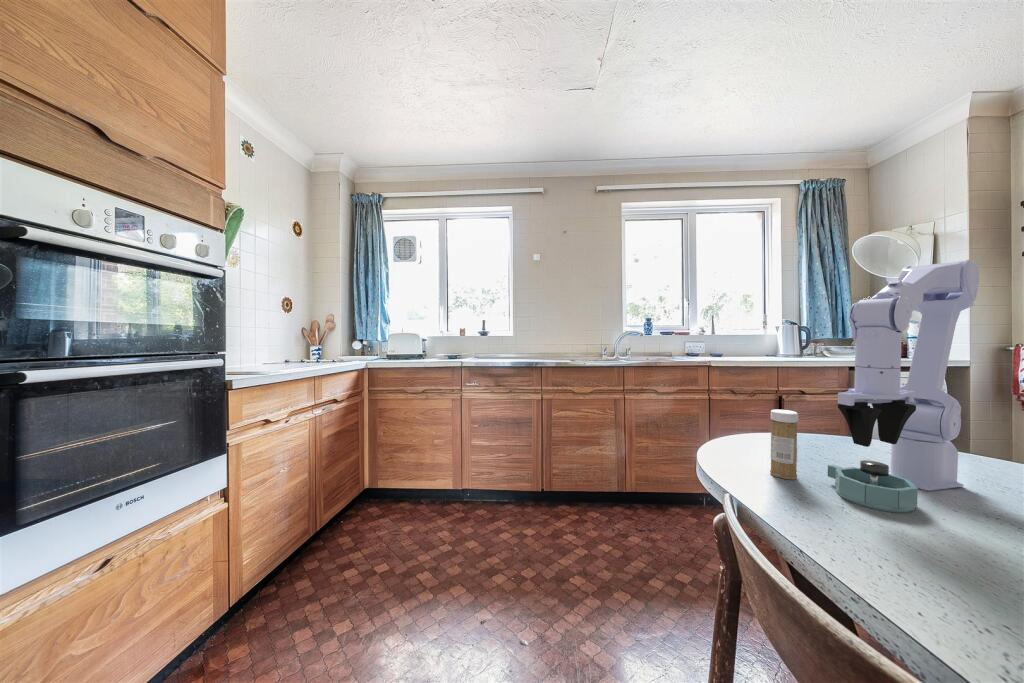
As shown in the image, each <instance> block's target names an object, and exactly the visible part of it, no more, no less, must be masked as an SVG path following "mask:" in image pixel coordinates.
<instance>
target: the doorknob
mask: <svg viewBox="0 0 1024 683" xmlns="http://www.w3.org/2000/svg"><path fill="white" fill-rule="evenodd" d="M859 464H860V466H859V468H860V470H861V471H862V472H864V473H867V474H870V483H865V482H862V483H865V484H870V485H876V486H880V485H878V476H888V475H889V470H890V469H889V468H890V466H889V465H888V464H886V463H883V462H880V461H874V460H866V459H865V460H864V459H863V460H860V463H859ZM882 487H884V486H882Z"/></svg>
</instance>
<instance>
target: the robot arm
mask: <svg viewBox="0 0 1024 683" xmlns="http://www.w3.org/2000/svg"><path fill="white" fill-rule="evenodd" d="M979 285H980V269H979V265H978V263H977V261H974V260H973V259H971V258H970V259H969V258H968V259H965V260H959V261H952V262H951V261H950V262H942V263H932V264H922V265H913V266H911V265H908V266H905V267H904V268H902V269H901V271H900V272H899V275H898V279H897V280H893V281H890V282H888V283H887V285H886V286H884V287H883V288H882V289H881V290H879V291H878V292H877V293H876V294H874V295H873V296H871V298H869V299H860V300H858V301H857V302H855V303H853V304H852V305H851V306H850V310H849V314H848V322H849V326H850V328H851V338H852V341H855V350H854V351H855V353H854V354H855V355H854V356H855V357H854V358H855V359H854V388H848V389H847V391H844V392H843V391H842V392H838V393H837V409H838V410H839V411H840V412H841V413H842V415H843V417H844V419H845V421H846V423H847V426H848V429H849V432H850V435H851V438H852V442H853V444H854V445H859V446H862V447H867V448H868V447H870V446H871V444H872V440H873V433H874V427H875V424H876V422H877V433H878V434H877V435H878V439H879V441H880V442H883V443H886V444H889V445H891V447H890V448H891V450H890V471H889V474H892V475H895V476H898V477H901V478H904V479H908V480H910V481H911V482H912V483H913V484H914V485H915V486H916V487H917V488H918V489H921V490H924V491H928V492H930V491H936V490H946V489H954V488H960V487H961V488H962V487H964V485H965V484H964V483H962V482H958V468H959V466H958V465H959V462H958V461H959V452H958V448H956V446H955V445H954V443H953V442H951V441H953V440H954V439H956V438H957V437H958V436H959V434H960V431H961V427H962V418H961V416H962V415H961V414H962V406H961V404H960V402H959V401H958V399H956V398H954V397H953V396H952V395H950V394H949V393H947V392H945V391H944V390H943V389H944V388H943V386H944V382H945V378H946V374H947V369H948V364H949V358H950V355H951V349H952V344H953V339H954V336H955V330H956V326H957V322H958V319H959V317H960V314H961V312H962V311H965V310H966V309H969V308H971V307H973V306H974V305H975V304H974V303H975V301H976V300H977V295H978V290H979ZM915 311H916V312H917V313H920V314H921V317H920V318H921V319H920V323H919V328H918V332H917V337H916V341H915V345H914V350H913V355H912V359H911V364H910V368H909V371H908V375H907V376H908V377H907V382H906V384H904V385H902V386H901V370H902V368H901V367H902V366H901V365H902V360H901V359H902V336H903V334H902V333H903V332H904V331H906V330H908V326H909V324H910V319H911V318H912V316H913V312H915ZM870 404H871V406H872V407H871V406H870Z"/></svg>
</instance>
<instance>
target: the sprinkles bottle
mask: <svg viewBox="0 0 1024 683" xmlns="http://www.w3.org/2000/svg"><path fill="white" fill-rule="evenodd" d="M798 422H799V413H798V412H797V411H794V410H788V409H776V408H775V409H771V410H770V423H771V424H770V425H771V426H770V427H771V428H770V431H771V433H770V470H769V471H770V475H772V476H774V477H777V478H778V479H783V480H789V481H790V480H796V479H797V478H798V475H797V463H798V446H797V445H798V437H797V436H798V428H797V427H798Z"/></svg>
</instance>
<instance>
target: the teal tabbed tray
mask: <svg viewBox="0 0 1024 683" xmlns="http://www.w3.org/2000/svg"><path fill="white" fill-rule="evenodd" d="M827 477H828V478H832V479H834V481H835V482H834V485H835V492H836V494H837V495H838V496H839V497H841V498H842V499H844V500H846V501H848V502H850V503H854V504H856V505H859V506H862V507H865V508H869V509H873V510H876V511H881V512H882V511H883V512H888V513H895V514H896V513H898V514H907V513H908V514H909V513H913V512H914V511H915V510H916V507H918V492H919V490H918V489H919V488H917V487H916V486H915V485H914V484H913V483H912V482H911V481H910V480H908V479H904V478H901V477H898V476H895V475H892V474H889V475H888V476H878V485H880V486H876V485H870V484H865V483H870V474H867V473H864V472H862V471H861V470H860V467H856V466H850V467H849V466H848V467H842V466H839V465H836V464H828V465H827ZM862 482H865V483H862ZM882 486H884V487H882Z"/></svg>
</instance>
